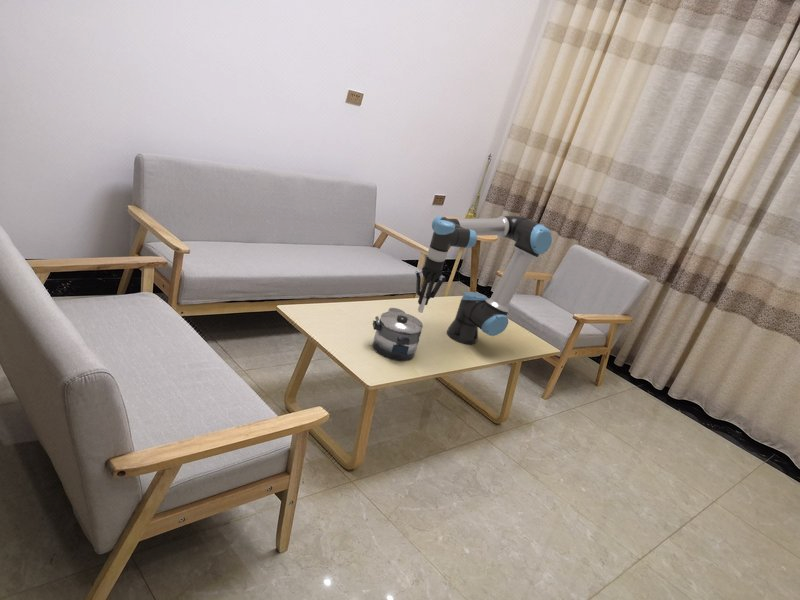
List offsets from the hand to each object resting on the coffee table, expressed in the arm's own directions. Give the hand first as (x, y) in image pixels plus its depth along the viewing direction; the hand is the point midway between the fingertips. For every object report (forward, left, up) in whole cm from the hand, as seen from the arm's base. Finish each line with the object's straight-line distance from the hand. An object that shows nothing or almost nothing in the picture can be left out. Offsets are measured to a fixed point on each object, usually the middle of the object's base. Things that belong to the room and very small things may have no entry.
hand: (420, 311), depth 225 cm
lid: (+7, 0, -8) cm, 11 cm away
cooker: (+6, 0, -20) cm, 21 cm away
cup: (+4, -19, -20) cm, 28 cm away
